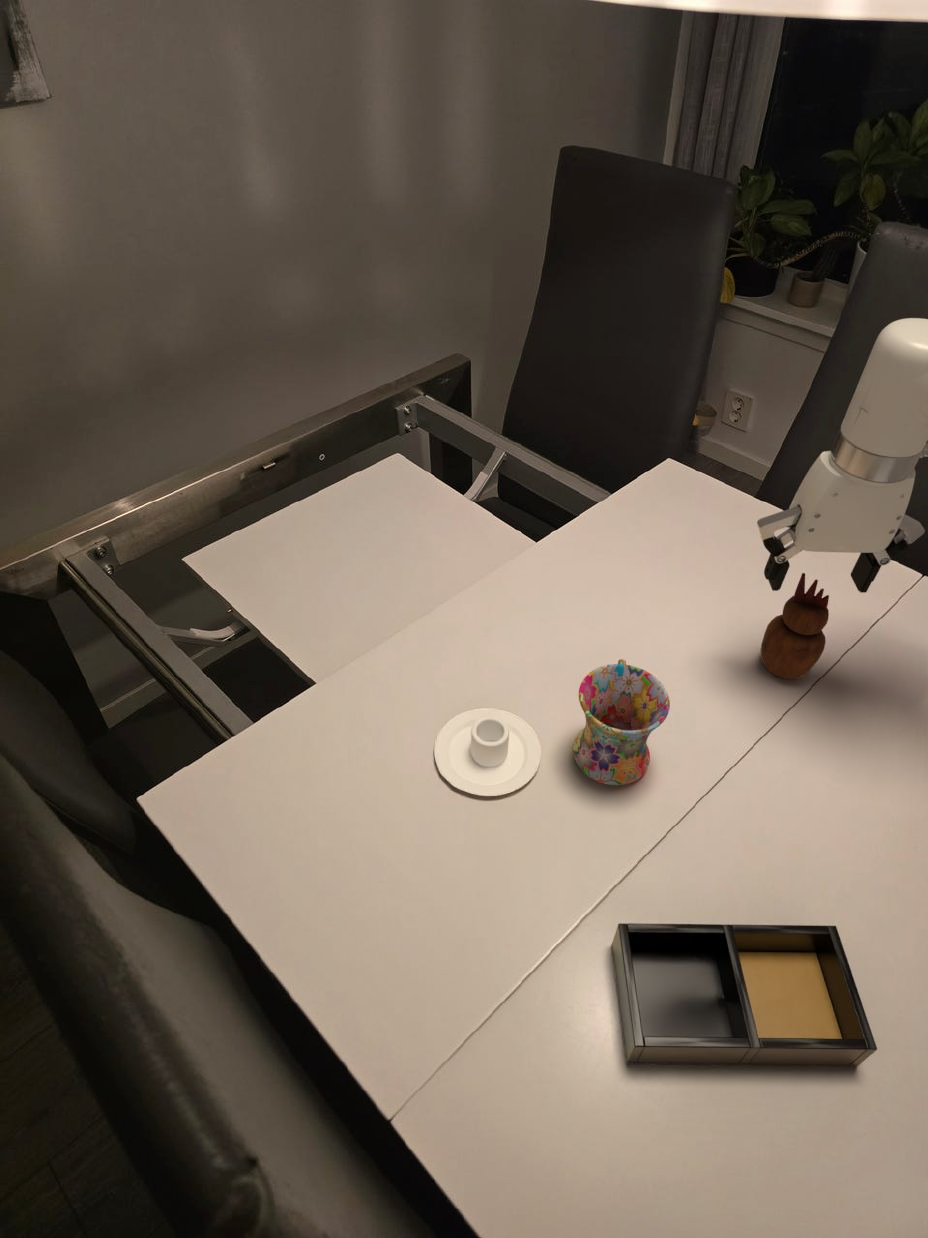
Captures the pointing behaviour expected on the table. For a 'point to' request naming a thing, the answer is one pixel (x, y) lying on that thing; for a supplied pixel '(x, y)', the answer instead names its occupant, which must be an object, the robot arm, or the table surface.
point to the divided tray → (738, 996)
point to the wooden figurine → (796, 633)
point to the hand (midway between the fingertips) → (814, 583)
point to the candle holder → (487, 752)
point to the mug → (618, 722)
